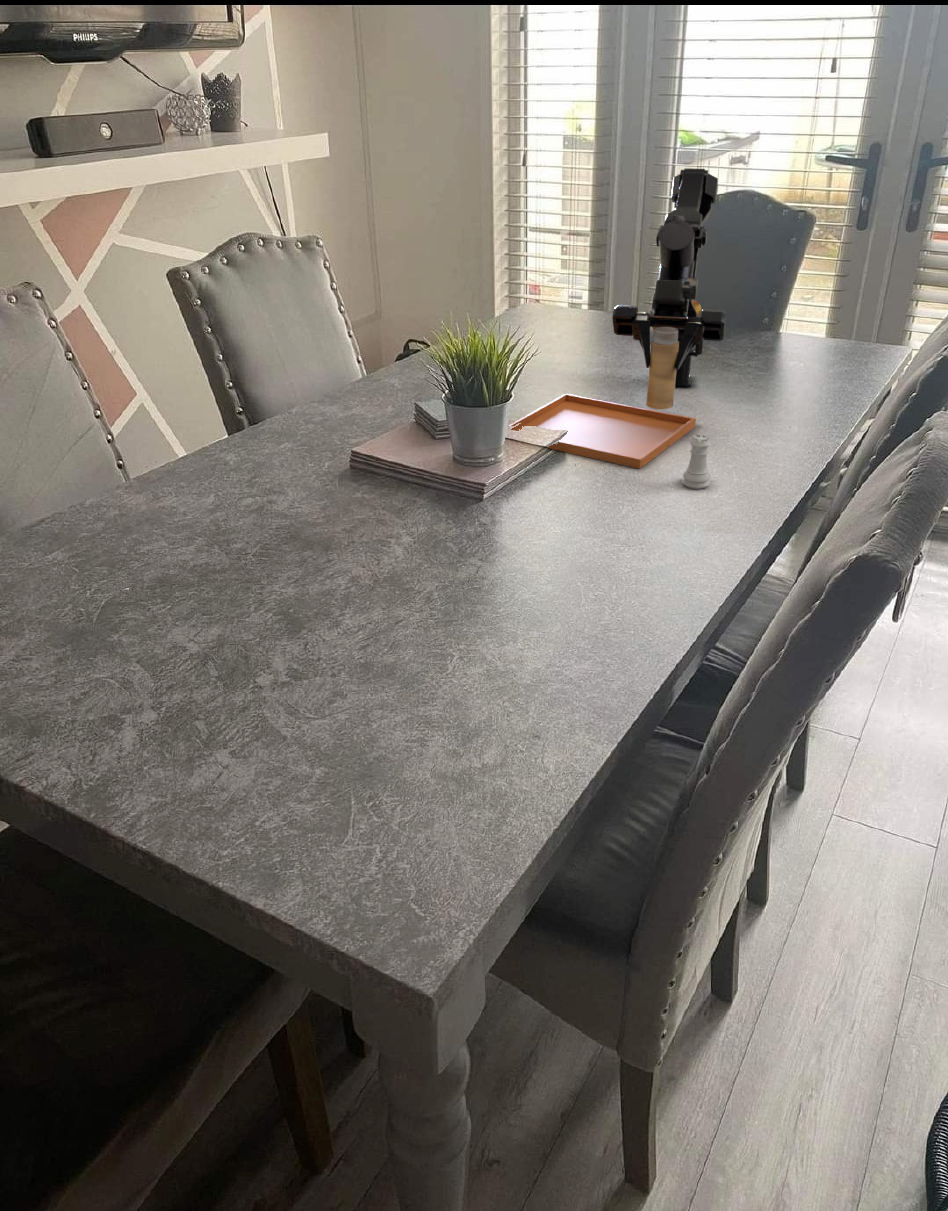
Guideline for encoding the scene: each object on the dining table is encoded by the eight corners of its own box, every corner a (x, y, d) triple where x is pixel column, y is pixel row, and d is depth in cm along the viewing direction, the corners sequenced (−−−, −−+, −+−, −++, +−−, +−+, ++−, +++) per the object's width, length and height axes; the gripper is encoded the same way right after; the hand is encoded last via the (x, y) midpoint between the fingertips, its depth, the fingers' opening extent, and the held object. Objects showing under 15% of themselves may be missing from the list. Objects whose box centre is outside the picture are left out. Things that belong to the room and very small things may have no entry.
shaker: (654, 398, 170) (660, 324, 163) (677, 403, 167) (685, 328, 160) (641, 405, 167) (647, 330, 160) (664, 411, 164) (671, 335, 157)
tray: (564, 401, 189) (565, 393, 188) (695, 426, 176) (696, 418, 175) (501, 437, 172) (501, 429, 172) (640, 468, 159) (640, 459, 158)
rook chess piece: (708, 478, 155) (713, 431, 151) (711, 490, 151) (717, 442, 147) (680, 478, 156) (685, 431, 151) (682, 489, 152) (687, 441, 148)
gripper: (617, 255, 160) (603, 339, 157) (732, 260, 156) (720, 346, 152) (621, 293, 171) (608, 372, 167) (728, 298, 166) (717, 380, 163)
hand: (662, 367), depth 162 cm, fingers closed on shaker, 4 cm apart
